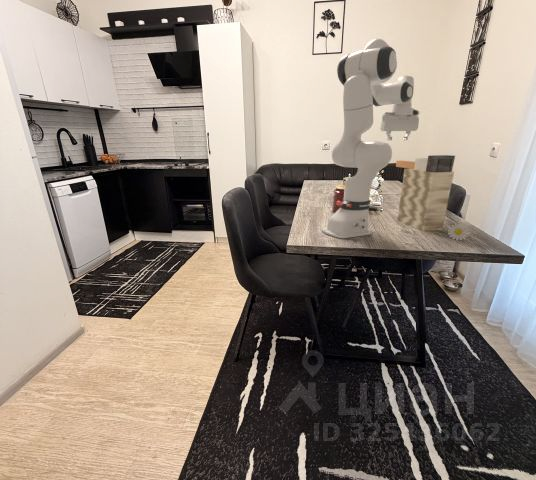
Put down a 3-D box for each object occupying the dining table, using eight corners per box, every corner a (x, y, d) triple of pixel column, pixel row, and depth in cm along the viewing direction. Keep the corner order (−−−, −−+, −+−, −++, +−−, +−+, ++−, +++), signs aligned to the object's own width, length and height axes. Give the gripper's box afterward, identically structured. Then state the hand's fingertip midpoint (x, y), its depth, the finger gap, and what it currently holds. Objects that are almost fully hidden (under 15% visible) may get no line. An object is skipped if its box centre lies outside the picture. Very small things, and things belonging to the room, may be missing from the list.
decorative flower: (436, 215, 125) (471, 224, 112) (441, 223, 128) (475, 232, 115) (425, 229, 125) (459, 239, 112) (430, 237, 128) (464, 247, 115)
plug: (393, 166, 147) (394, 156, 146) (403, 166, 149) (404, 156, 147) (426, 170, 125) (428, 159, 124) (437, 170, 126) (439, 159, 125)
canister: (350, 208, 171) (352, 179, 165) (358, 214, 158) (361, 182, 153) (329, 209, 170) (331, 180, 164) (335, 214, 158) (337, 183, 152)
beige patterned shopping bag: (397, 220, 145) (406, 154, 134) (414, 219, 146) (425, 153, 136) (423, 231, 127) (436, 156, 116) (442, 229, 129) (457, 155, 118)
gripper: (386, 111, 141) (383, 140, 146) (422, 111, 145) (418, 140, 149) (379, 112, 147) (376, 140, 152) (414, 112, 151) (410, 140, 155)
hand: (397, 140), depth 151 cm, fingers open, 8 cm apart
